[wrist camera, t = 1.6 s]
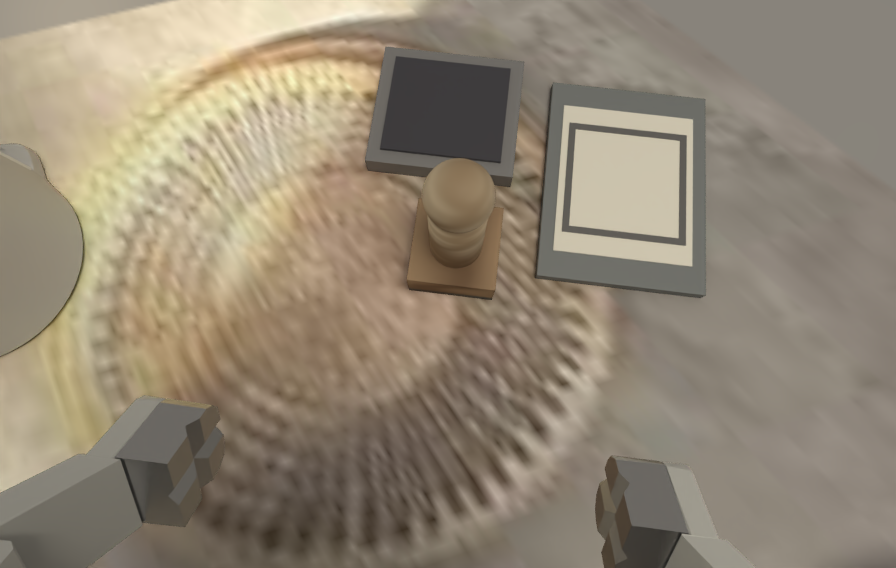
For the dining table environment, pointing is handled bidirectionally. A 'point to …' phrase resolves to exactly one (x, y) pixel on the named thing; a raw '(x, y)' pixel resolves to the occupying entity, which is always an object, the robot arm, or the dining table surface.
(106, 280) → the dining table surface
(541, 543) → the dining table surface
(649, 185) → the document board
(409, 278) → the hand stamp
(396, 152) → the ink pad
